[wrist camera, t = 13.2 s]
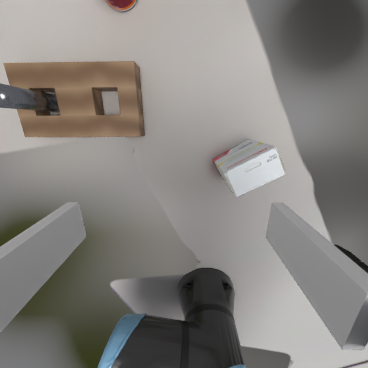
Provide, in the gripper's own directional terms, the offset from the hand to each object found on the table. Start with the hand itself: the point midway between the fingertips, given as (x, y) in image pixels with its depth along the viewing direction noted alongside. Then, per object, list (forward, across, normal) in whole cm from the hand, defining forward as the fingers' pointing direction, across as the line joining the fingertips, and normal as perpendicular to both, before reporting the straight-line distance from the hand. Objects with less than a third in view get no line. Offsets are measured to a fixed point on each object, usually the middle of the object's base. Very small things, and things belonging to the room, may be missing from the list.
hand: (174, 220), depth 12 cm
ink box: (+27, -11, +1) cm, 29 cm away
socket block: (+27, +19, -10) cm, 34 cm away
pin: (+27, +24, -10) cm, 38 cm away
